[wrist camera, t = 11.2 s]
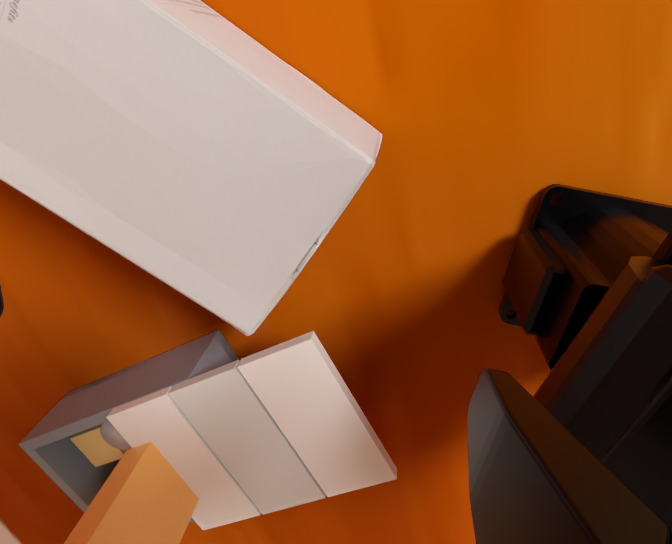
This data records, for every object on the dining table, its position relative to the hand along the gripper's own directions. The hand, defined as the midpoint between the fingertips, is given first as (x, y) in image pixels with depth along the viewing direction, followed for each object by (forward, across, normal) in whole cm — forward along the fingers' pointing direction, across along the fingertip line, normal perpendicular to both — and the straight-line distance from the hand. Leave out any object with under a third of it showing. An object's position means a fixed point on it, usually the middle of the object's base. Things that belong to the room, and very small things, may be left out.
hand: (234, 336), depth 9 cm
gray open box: (+13, +6, +16) cm, 21 cm away
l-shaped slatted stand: (+9, +1, +12) cm, 15 cm away
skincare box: (+10, +13, -5) cm, 17 cm away
